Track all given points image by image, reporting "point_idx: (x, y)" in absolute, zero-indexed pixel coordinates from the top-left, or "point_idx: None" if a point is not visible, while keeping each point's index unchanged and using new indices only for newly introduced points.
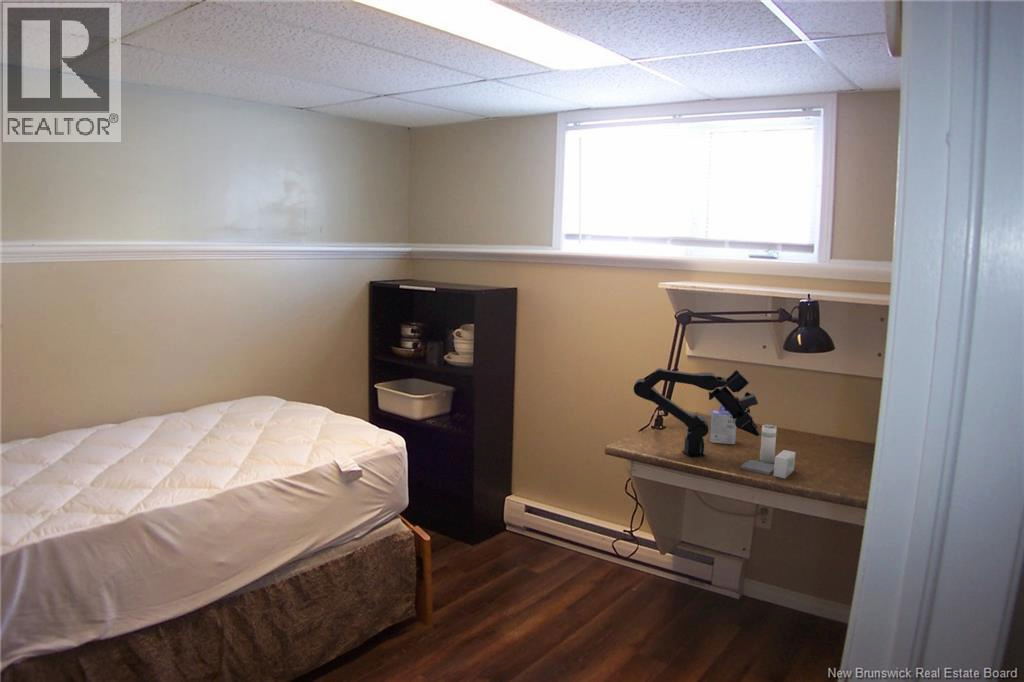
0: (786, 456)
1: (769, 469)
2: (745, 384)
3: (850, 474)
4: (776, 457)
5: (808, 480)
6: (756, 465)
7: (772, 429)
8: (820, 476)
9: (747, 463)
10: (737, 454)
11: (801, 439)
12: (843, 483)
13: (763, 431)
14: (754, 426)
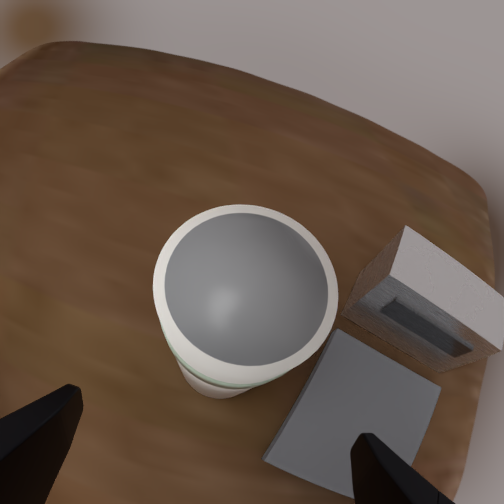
0: (483, 293)
1: (408, 382)
2: None
3: (326, 116)
4: (501, 344)
5: None
6: None
7: (329, 274)
8: (382, 199)
9: (342, 482)
10: (122, 490)
11: None
12: (415, 167)
13: (279, 375)
14: (426, 500)
